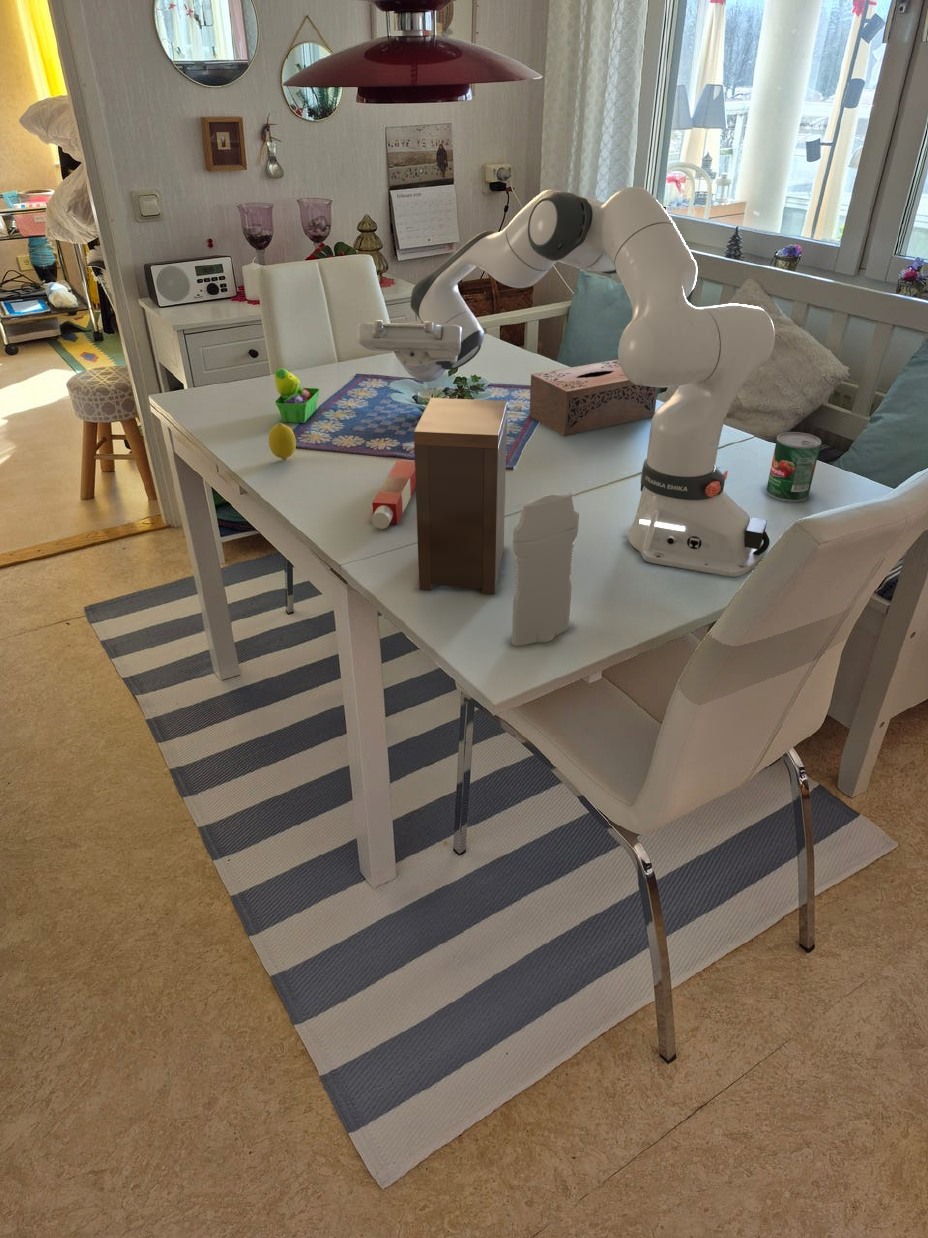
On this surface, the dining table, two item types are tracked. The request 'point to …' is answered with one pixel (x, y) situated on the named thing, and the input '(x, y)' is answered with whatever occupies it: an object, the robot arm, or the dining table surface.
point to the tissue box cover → (588, 398)
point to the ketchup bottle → (394, 494)
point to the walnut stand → (460, 492)
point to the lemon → (282, 441)
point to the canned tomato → (793, 466)
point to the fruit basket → (294, 398)
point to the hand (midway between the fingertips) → (402, 324)
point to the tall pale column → (543, 568)
